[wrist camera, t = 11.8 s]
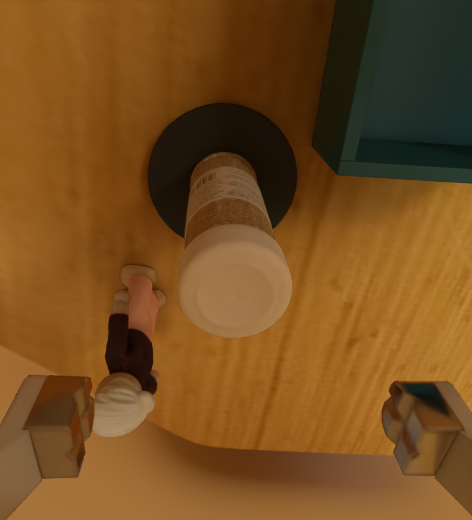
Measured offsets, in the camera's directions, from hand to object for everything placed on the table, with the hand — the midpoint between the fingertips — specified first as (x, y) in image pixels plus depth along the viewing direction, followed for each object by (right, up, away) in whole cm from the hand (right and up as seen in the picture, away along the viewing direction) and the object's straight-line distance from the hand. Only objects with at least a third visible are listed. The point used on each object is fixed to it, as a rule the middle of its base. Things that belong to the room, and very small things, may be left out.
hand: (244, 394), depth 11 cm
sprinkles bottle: (-1, +9, +16) cm, 19 cm away
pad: (-1, +9, +17) cm, 19 cm away
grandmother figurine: (-7, +1, +21) cm, 22 cm away
